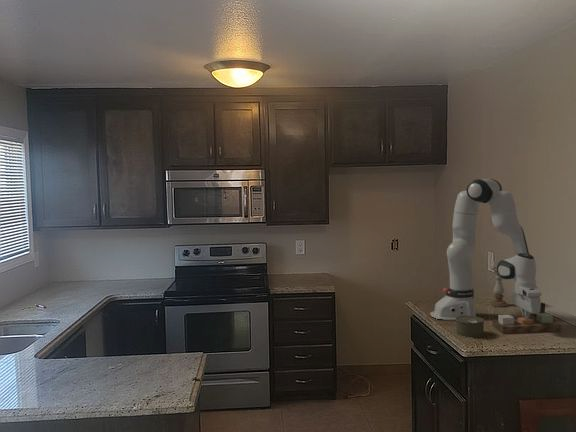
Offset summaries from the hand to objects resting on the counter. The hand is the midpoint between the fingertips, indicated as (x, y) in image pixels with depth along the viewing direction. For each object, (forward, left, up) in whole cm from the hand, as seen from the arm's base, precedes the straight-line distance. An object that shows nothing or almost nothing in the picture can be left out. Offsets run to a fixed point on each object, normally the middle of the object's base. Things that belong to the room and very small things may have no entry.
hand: (525, 318), depth 246 cm
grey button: (-9, 0, -2) cm, 9 cm away
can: (-28, -4, -5) cm, 28 cm away
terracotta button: (0, 0, -3) cm, 4 cm away
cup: (+12, +14, -5) cm, 19 cm away
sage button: (+9, 0, -2) cm, 9 cm away
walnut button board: (0, 0, -5) cm, 5 cm away
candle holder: (+6, +44, -5) cm, 45 cm away
